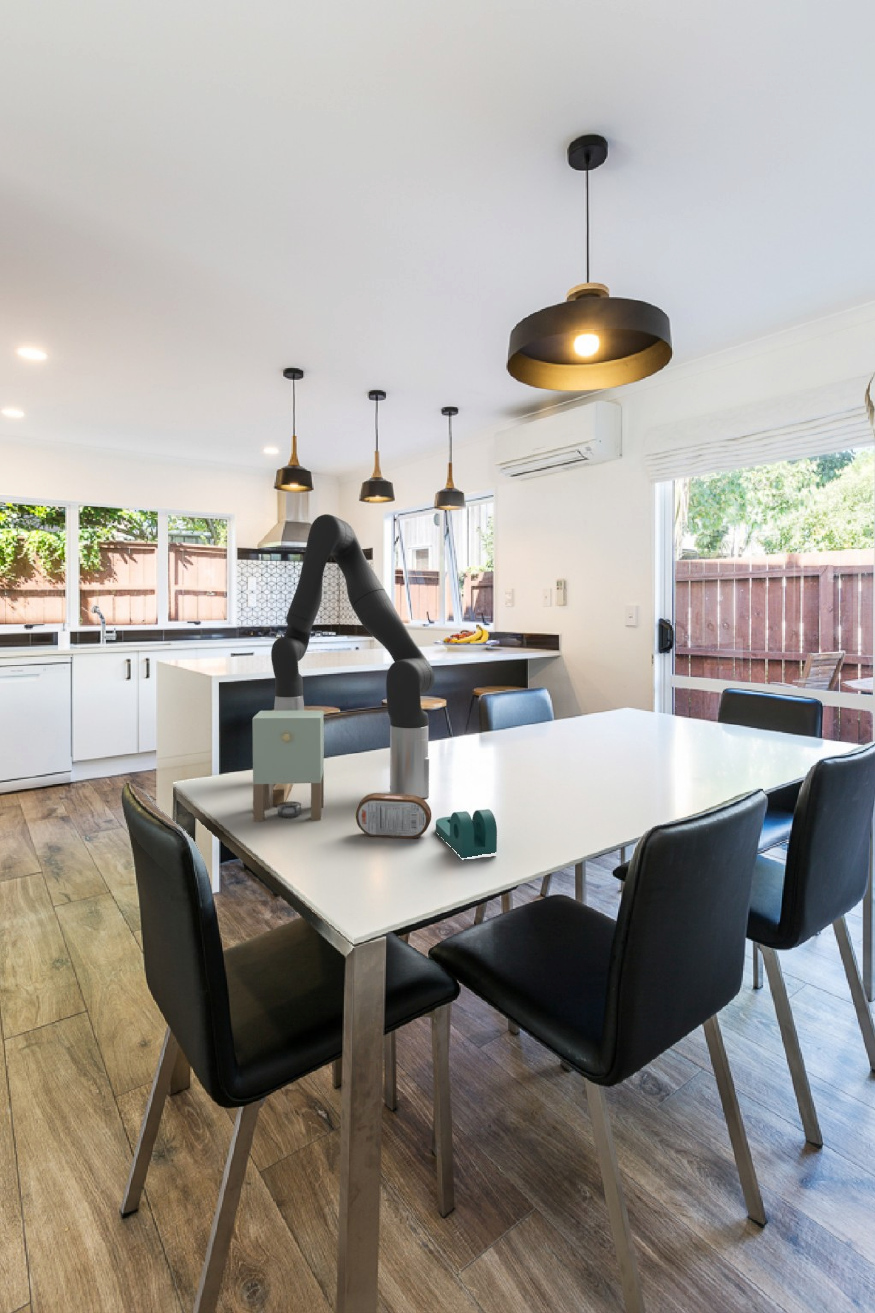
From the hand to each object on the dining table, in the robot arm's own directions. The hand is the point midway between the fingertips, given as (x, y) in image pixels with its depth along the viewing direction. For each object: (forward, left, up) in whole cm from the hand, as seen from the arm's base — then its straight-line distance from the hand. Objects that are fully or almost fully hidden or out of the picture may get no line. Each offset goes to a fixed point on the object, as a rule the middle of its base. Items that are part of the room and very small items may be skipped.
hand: (289, 778), depth 167 cm
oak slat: (0, +10, -1) cm, 10 cm away
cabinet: (-3, +27, -1) cm, 27 cm away
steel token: (-3, +28, -1) cm, 28 cm away
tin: (-25, +43, -1) cm, 50 cm away
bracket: (-38, +47, -1) cm, 61 cm away
